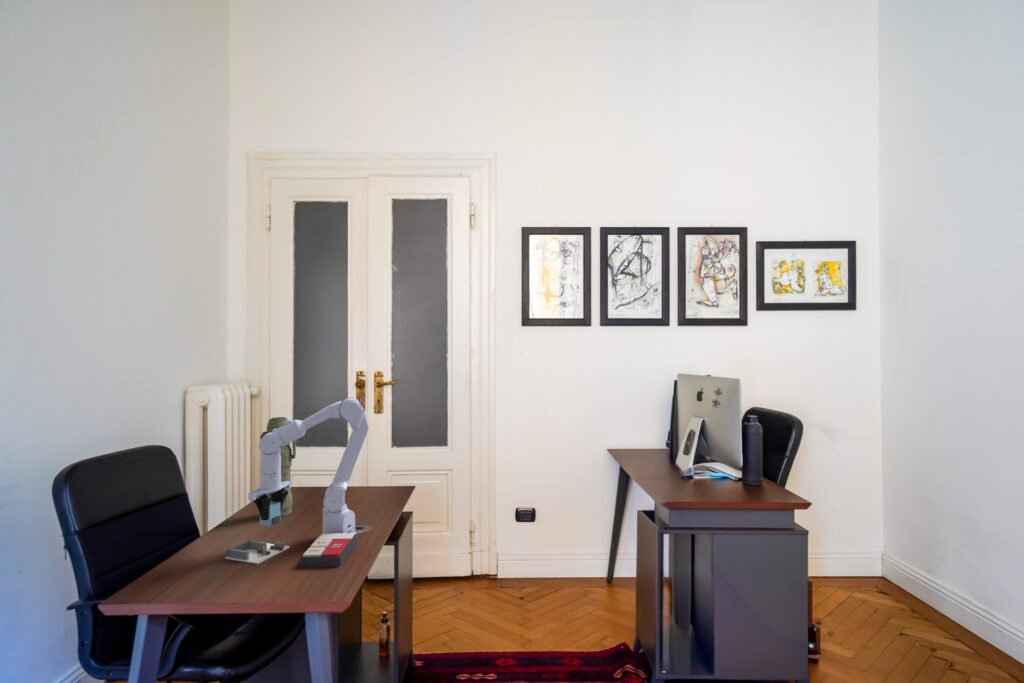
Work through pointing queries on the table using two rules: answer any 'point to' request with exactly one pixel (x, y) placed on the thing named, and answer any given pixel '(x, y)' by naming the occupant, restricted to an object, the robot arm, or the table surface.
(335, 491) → the robot arm
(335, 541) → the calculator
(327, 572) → the table surface
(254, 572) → the table surface
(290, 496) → the thermos
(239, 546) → the end holder
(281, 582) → the table surface
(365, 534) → the table surface
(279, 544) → the board
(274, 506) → the pale blue cube
